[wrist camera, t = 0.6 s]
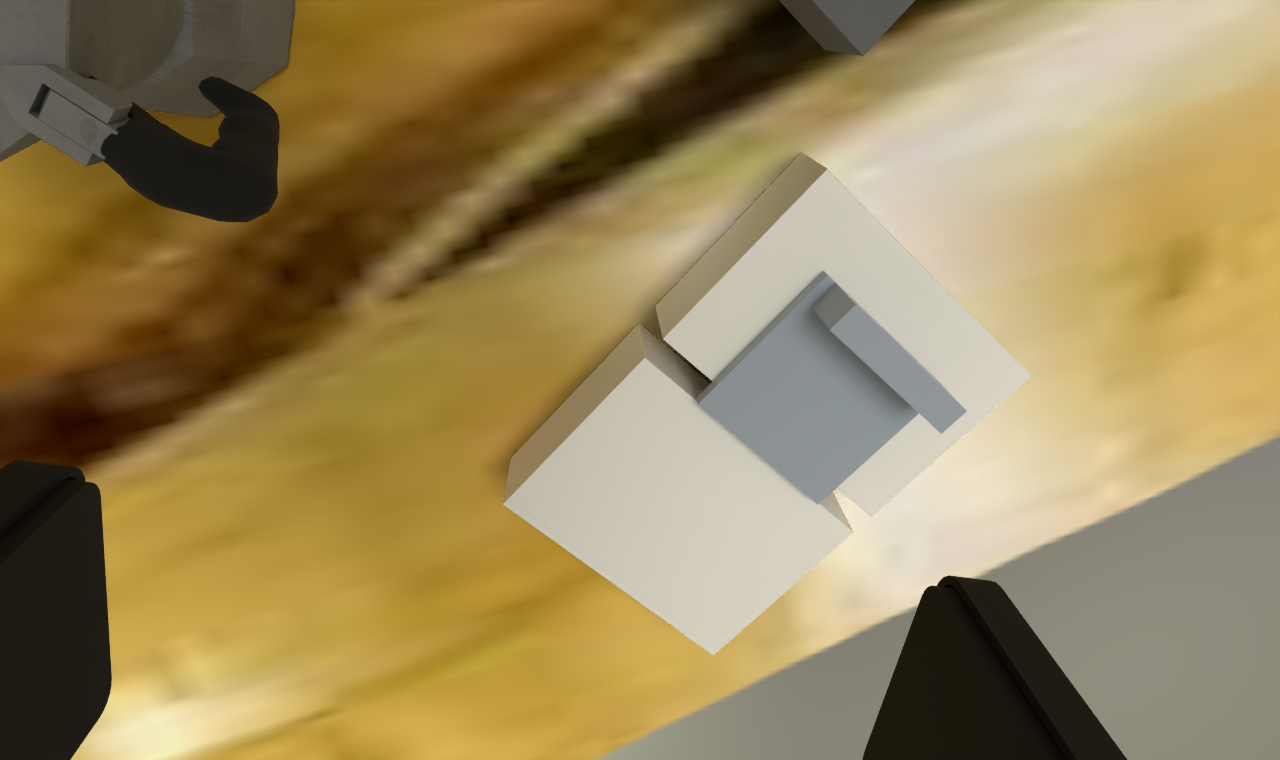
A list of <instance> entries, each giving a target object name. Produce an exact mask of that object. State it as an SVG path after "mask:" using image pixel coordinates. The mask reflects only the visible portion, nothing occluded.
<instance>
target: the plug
mask: <svg viewBox="0 0 1280 760" xmlns="http://www.w3.org/2000/svg"><path fill="white" fill-rule="evenodd" d="M779 1H780V2H781V3H782V4H783V6H784V7H785V8H786V9H787V10H788V11H789V12H790V13H791V14H792V15H793V16H794V17H795V18H796V20H797V21H798V22H799V23H800V24H801V25H802V26H803V27H804V28H805V29H806V30H807V31H808V32H809V34H810V35H811V36H812V37H813V38H814V39H815V40H816V41H817V42H818V43H819V44H820V45H821V46H822V48H823V49H824V50H829V51H835V52H842V53H848V54H855V55H861V56H863V55H864V54H865V53H866V52H867V51H868V50H869V49H870V48H871V47H872V46H873V45H874V44H875V42H876V41H877V40H878V39H879V38H880V37H881V36H882V35H883V34H884V33H885V32H886V31H887V30H888V29H889V28H890V27H891V25H892V24H893V23H894V22H895V21H896V20H897V19H898V18H899V17H900V16H901V15H902V14H903V13H904V12H905V11H906V9H907V8H908V7H909V6H910V5H911V4H912V3H913V2H914V1H915V0H779Z"/></svg>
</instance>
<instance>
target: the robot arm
mask: <svg viewBox="0 0 1280 760" xmlns="http://www.w3.org/2000/svg"><path fill="white" fill-rule="evenodd" d="M111 680H112V676H111V659H110V643H109V626H108V609H107V592H106V576H105V559H104V542H103V525H102V509H101V495H100V490H99V488H98V486H97V485H96V484H94V483H91V482H85V477H84V475H83V473H82V471H81V470H80V469H78V468H77V467H73V466H65V465H57V464H49V463H41V462H33V461H25V460H15V461H13V462H11V463H9V464H7V465H6V466H4V467H3V468H2V469H1V470H0V760H70V759H71V758H72V756H73V755H74V754H75V752H76V751H77V749H78V748H79V746H80V745H81V744H82V742H83V741H84V739H85V738H86V736H87V735H88V733H89V732H90V731H91V729H92V728H93V726H94V725H95V723H96V722H97V721H98V719H99V718H100V716H101V714H102V712H103V711H104V708H105V706H106V704H107V701H108V698H109V694H110V690H111ZM863 760H1127V759H1126V757H1125V756H1124V755H1123V754H1122V752H1121V750H1120V749H1119V748H1118V746H1117V745H1116V744H1115V742H1114V741H1113V740H1112V738H1111V737H1110V736H1109V734H1108V733H1107V731H1106V730H1105V729H1104V727H1103V726H1102V724H1100V722H1099V720H1098V719H1097V718H1096V716H1095V715H1094V714H1093V712H1092V711H1091V709H1090V708H1089V707H1088V705H1087V704H1086V703H1085V701H1084V700H1083V698H1082V697H1081V696H1080V694H1079V693H1078V692H1077V691H1076V689H1075V688H1074V686H1073V685H1072V684H1071V682H1070V681H1069V679H1068V678H1067V677H1066V676H1065V674H1064V672H1063V671H1062V670H1061V668H1060V667H1059V666H1058V664H1057V663H1056V662H1055V660H1054V659H1053V658H1052V656H1051V655H1050V653H1049V652H1048V651H1047V649H1046V648H1045V646H1044V645H1043V644H1042V642H1041V641H1040V640H1039V638H1038V637H1037V636H1036V634H1035V633H1034V631H1033V630H1032V629H1031V627H1030V626H1029V625H1028V623H1027V622H1026V620H1025V619H1024V618H1023V616H1022V615H1021V614H1020V612H1019V611H1018V610H1017V608H1016V607H1015V605H1014V604H1013V603H1012V601H1011V600H1010V599H1009V598H1008V596H1007V595H1006V593H1005V592H1004V590H1003V589H1002V588H1001V587H1000V586H999V585H998V584H997V583H996V582H992V581H988V580H980V579H972V578H964V577H956V576H946V577H943V578H942V579H941V581H940V582H939V583H938V585H937V586H930V587H928V588H927V589H926V590H925V591H924V593H923V595H922V597H921V600H920V603H919V605H918V608H917V611H916V614H915V616H914V619H913V622H912V624H911V627H910V630H909V632H908V635H907V638H906V641H905V643H904V646H903V649H902V651H901V654H900V657H899V660H898V663H897V665H896V668H895V670H894V673H893V676H892V679H891V681H890V684H889V687H888V689H887V692H886V695H885V697H884V700H883V703H882V706H881V708H880V711H879V714H878V717H877V719H876V722H875V725H874V727H873V730H872V733H871V735H870V738H869V741H868V744H867V746H866V749H865V752H864V756H863Z"/></svg>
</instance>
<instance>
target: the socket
mask: <svg viewBox="0 0 1280 760" xmlns="http://www.w3.org/2000/svg"><path fill="white" fill-rule="evenodd" d="M823 271H825V272H826V273H827V274H828V275H829V276H830V277H831V278H832V279H833V280H834V281H835V282H836V283H837V284H838V285H839V286H840V287H841V288H842V289H843V290H844V291H845V292H846V293H847V294H848V295H850V296H851V297H852V298H853V299H854V300H855V301H856V302H857V303H858V304H859V305H860V306H861V307H862V308H863V309H864V310H865V311H866V312H867V313H868V314H869V315H870V316H871V317H872V318H873V319H875V320H876V321H877V322H878V323H879V324H880V325H881V326H882V327H883V328H884V329H885V330H886V331H887V332H888V333H889V334H890V335H891V336H892V337H893V338H894V339H895V340H896V341H897V342H898V343H899V344H901V345H902V346H903V347H904V348H905V349H906V350H907V351H908V352H909V353H910V354H911V355H912V356H913V357H914V358H915V359H916V360H917V361H918V362H919V363H920V364H921V365H922V366H923V367H924V368H926V369H927V370H928V371H929V372H930V373H931V374H932V375H933V376H934V377H935V378H936V379H937V380H938V381H939V382H940V383H941V384H942V385H943V386H944V387H945V388H946V390H947V391H948V392H949V393H950V394H951V395H952V396H953V397H954V398H955V399H956V400H957V401H958V402H959V403H960V404H961V405H962V406H963V408H964V409H965V410H966V411H967V412H966V413H965V414H963V415H962V416H961V417H960V418H959V419H958V420H957V421H956V422H954V423H953V424H952V425H951V426H950V427H949V428H948V429H947V430H945V431H944V432H943V433H942V434H941V433H940V432H939V431H937V430H936V429H935V428H934V427H933V426H932V425H931V424H930V423H929V422H928V421H927V420H926V419H925V418H924V417H922V416H921V415H920V414H918V415H917V416H916V417H915V418H913V419H912V420H911V421H910V422H909V423H908V424H907V425H906V426H905V427H903V428H902V429H901V430H900V431H899V432H898V433H897V434H896V435H895V436H893V437H892V438H891V439H890V440H889V441H888V442H887V443H886V444H885V445H883V446H882V447H881V448H880V449H879V450H878V451H877V452H876V453H875V454H874V455H872V456H871V457H870V458H869V459H868V460H867V461H866V462H865V463H864V464H862V465H861V466H860V467H859V468H858V469H857V470H856V471H855V472H854V473H852V474H851V475H850V476H849V477H848V478H847V479H846V480H845V481H844V482H842V483H841V484H840V485H839V486H838V487H837V488H838V489H839V490H840V491H841V492H843V493H844V494H845V495H846V496H847V497H849V498H850V499H851V500H852V501H853V502H854V503H856V504H857V505H858V506H859V507H860V508H861V509H863V510H864V511H865V512H866V513H867V514H868V515H870V516H873V515H874V514H875V513H876V512H877V511H878V510H879V509H881V508H882V507H883V506H884V505H885V504H886V503H887V502H889V501H890V500H891V499H892V498H893V497H894V496H895V495H897V494H898V493H899V492H900V491H901V490H902V489H903V488H904V487H906V486H907V485H908V484H909V483H910V482H911V481H912V480H914V479H915V478H916V477H917V476H918V475H919V474H920V473H922V472H923V471H924V470H925V469H926V468H927V467H928V466H930V465H931V464H932V463H933V462H934V461H935V460H936V459H938V458H939V457H940V456H941V455H942V454H943V453H944V452H945V451H947V450H948V449H949V448H950V447H951V446H952V445H953V444H955V443H956V442H957V441H958V440H959V439H960V438H961V437H963V436H964V435H965V434H966V433H967V432H968V431H969V430H971V429H972V428H973V427H974V426H975V425H976V424H977V423H978V422H980V421H981V420H982V419H983V418H984V417H985V416H986V415H988V414H989V413H990V412H991V411H992V410H993V409H994V408H996V407H997V406H998V405H999V404H1000V403H1001V402H1002V401H1004V400H1005V399H1006V398H1007V397H1008V396H1009V395H1010V394H1012V393H1013V392H1014V391H1015V390H1016V389H1017V388H1018V387H1019V386H1021V385H1022V384H1023V383H1024V382H1025V381H1026V380H1027V379H1029V378H1030V377H1031V375H1030V374H1029V373H1028V372H1027V371H1026V370H1025V369H1024V368H1023V367H1022V366H1021V365H1020V364H1019V363H1018V362H1017V361H1016V360H1015V359H1014V358H1013V357H1012V356H1011V355H1010V354H1009V353H1008V352H1007V351H1006V350H1005V349H1004V348H1003V347H1002V346H1001V345H1000V344H999V343H998V342H997V341H996V340H995V339H994V338H993V337H992V336H991V335H990V334H989V333H988V332H987V331H986V330H985V328H984V327H983V326H982V325H981V324H980V323H979V322H978V321H977V320H976V319H975V318H974V317H973V316H972V315H971V314H970V313H969V312H968V311H967V310H966V309H965V308H964V307H963V306H962V305H961V304H960V303H959V302H958V301H957V300H956V299H955V298H954V297H953V296H952V295H951V294H950V293H949V292H948V291H947V290H946V289H945V288H944V287H943V286H942V285H941V284H940V283H939V282H938V281H937V280H936V279H935V278H934V277H933V276H932V275H931V274H930V273H929V272H928V271H927V270H926V269H925V268H924V267H923V266H922V265H921V263H920V262H919V261H918V260H917V259H916V258H915V257H914V256H913V255H912V254H911V253H910V252H909V251H908V250H907V249H906V248H905V247H904V246H903V245H902V244H901V243H900V242H899V241H898V240H897V239H896V238H895V237H894V236H893V235H892V234H891V233H890V232H889V231H888V230H887V229H886V228H885V227H884V226H883V225H882V224H881V223H880V222H879V221H878V220H877V219H876V218H875V217H874V216H873V215H872V214H871V213H870V212H869V211H868V210H867V209H866V208H865V207H864V206H863V205H862V204H861V203H860V202H859V201H858V200H857V198H856V197H855V196H854V195H853V194H852V193H851V192H850V191H849V190H848V189H847V188H846V187H845V186H844V185H843V184H842V183H841V182H840V181H839V180H838V179H837V178H836V177H835V176H834V175H833V174H832V173H831V172H830V171H829V170H828V169H827V168H825V167H824V166H822V165H821V164H819V163H817V162H816V161H814V160H813V159H811V158H810V157H808V156H807V155H805V154H803V153H802V152H801V153H800V154H799V155H798V156H797V158H796V159H795V160H794V161H793V162H792V163H791V164H790V165H789V166H788V167H787V168H786V169H785V170H784V171H783V172H782V173H781V174H780V175H779V176H778V178H777V179H776V180H775V181H774V182H773V183H772V184H771V185H770V186H769V187H768V188H767V189H766V190H765V191H764V192H763V193H762V194H761V195H760V196H759V198H758V199H757V200H756V201H755V202H754V203H753V204H752V205H751V206H750V207H749V208H748V209H747V210H746V211H745V212H744V213H743V214H742V215H741V216H740V217H739V219H738V220H737V221H736V222H735V223H734V224H733V225H732V226H731V227H730V228H729V229H728V230H727V231H726V232H725V233H724V234H723V235H722V236H721V237H720V239H719V240H718V241H717V242H716V243H715V244H714V245H713V246H712V247H711V248H710V249H709V250H708V251H707V252H706V253H705V254H704V255H703V256H702V257H701V258H700V260H699V261H698V262H697V263H696V264H695V265H694V266H693V267H692V268H691V269H690V270H689V271H688V272H687V273H686V274H685V275H684V276H683V277H682V278H681V280H680V281H679V282H678V283H677V284H676V285H675V286H674V287H673V288H672V289H671V290H670V291H669V292H668V293H667V294H666V295H665V296H664V297H663V298H662V299H661V301H660V302H659V303H658V304H657V305H656V306H655V307H656V312H657V316H658V320H659V325H660V329H661V333H662V338H663V340H665V341H666V342H667V343H668V344H669V345H670V346H672V347H673V348H674V349H675V350H676V351H677V352H679V353H680V354H681V355H682V356H683V357H684V358H686V359H687V360H688V361H689V362H690V363H691V364H693V365H694V366H695V367H696V368H697V369H698V370H700V371H701V372H702V373H703V374H704V375H706V376H707V377H708V378H709V379H710V380H711V381H714V380H715V379H716V378H717V377H718V376H719V375H720V374H721V373H722V372H723V371H724V370H725V369H726V368H727V367H728V366H729V365H730V364H731V363H732V362H733V361H734V360H735V359H736V358H737V357H738V356H739V355H740V354H741V353H742V352H743V351H744V350H745V349H746V348H747V347H748V346H749V345H750V344H751V343H752V342H753V341H754V340H755V339H756V338H757V337H758V336H759V335H760V334H761V333H762V332H763V331H764V330H765V329H766V328H767V327H768V326H769V325H770V324H771V323H772V322H773V321H774V320H775V319H776V318H777V317H778V316H779V315H780V314H781V313H782V312H783V311H784V310H785V309H786V308H787V307H788V306H789V305H790V304H791V303H792V302H793V301H794V300H795V299H796V298H797V297H798V296H799V295H800V294H801V293H802V292H803V291H804V290H805V289H806V288H807V287H808V286H809V285H810V284H811V283H812V282H813V281H814V280H815V279H816V278H817V277H818V276H819V275H820V274H821V273H822V272H823ZM709 385H710V383H709V382H708V381H707V380H706V379H704V378H703V377H702V376H701V375H700V374H699V373H697V372H696V371H695V370H694V369H693V368H691V367H690V366H689V365H688V364H687V363H686V362H684V361H683V360H682V359H681V358H680V357H679V356H677V355H676V354H675V353H674V352H673V351H671V350H670V349H669V348H668V347H667V346H666V345H664V344H663V343H662V342H661V341H660V340H659V339H657V338H656V337H655V336H654V335H653V334H652V333H650V332H649V331H648V330H647V329H646V328H644V327H643V326H642V325H641V324H640V323H639V324H638V325H637V326H636V327H635V328H634V329H633V330H632V331H631V332H630V333H629V334H628V335H627V336H626V337H625V338H624V339H623V340H622V342H621V343H620V344H619V345H618V346H617V347H616V348H615V349H614V350H613V351H612V352H611V353H610V354H609V355H608V356H607V357H606V358H605V359H604V360H603V362H602V363H601V364H600V365H599V366H598V367H597V368H596V369H595V370H594V371H593V372H592V373H591V374H590V375H589V376H588V377H587V378H586V379H585V380H584V382H583V383H582V384H581V385H580V386H579V387H578V388H577V389H576V390H575V391H574V392H573V393H572V394H571V395H570V396H569V397H568V398H567V399H566V400H565V401H564V403H563V404H562V405H561V406H560V407H559V408H558V409H557V410H556V411H555V412H554V413H553V414H552V415H551V416H550V417H549V418H548V419H547V420H546V421H545V423H544V424H543V425H542V426H541V427H540V428H539V429H538V430H537V431H536V432H535V433H534V434H533V435H532V436H531V437H530V438H529V439H528V440H527V441H526V442H525V444H524V445H523V446H522V447H521V448H520V449H519V450H518V451H517V452H516V453H515V454H514V455H513V456H512V457H511V461H510V467H509V472H508V478H507V484H506V490H505V495H504V501H503V505H504V506H506V507H507V508H509V509H510V510H511V511H513V512H514V513H516V514H517V515H518V516H520V517H521V518H523V519H524V520H525V521H527V522H528V523H530V524H531V525H532V526H534V527H535V528H536V529H538V530H539V531H541V532H542V533H543V534H545V535H546V536H548V537H549V538H550V539H552V540H553V541H555V542H556V543H557V544H559V545H560V546H562V547H563V548H564V549H566V550H567V551H569V552H570V553H571V554H573V555H574V556H575V557H577V558H578V559H580V560H581V561H582V562H584V563H585V564H587V565H588V566H589V567H591V568H592V569H594V570H595V571H596V572H598V573H599V574H601V575H602V576H603V577H605V578H606V579H607V580H609V581H610V582H612V583H613V584H614V585H616V586H617V587H619V588H620V589H621V590H623V591H624V592H626V593H627V594H628V595H630V596H631V597H633V598H634V599H635V600H637V601H638V602H640V603H641V604H642V605H644V606H645V607H646V608H648V609H649V610H651V611H652V612H653V613H655V614H656V615H658V616H659V617H660V618H662V619H663V620H665V621H666V622H667V623H669V624H670V625H672V626H673V627H674V628H676V629H677V630H678V631H680V632H681V633H683V634H684V635H685V636H687V637H688V638H690V639H691V640H692V641H694V642H695V643H697V644H698V645H699V646H701V647H702V648H704V649H705V650H706V651H708V652H709V653H711V654H712V655H714V654H715V653H717V652H718V651H719V650H720V649H721V648H722V647H723V646H725V645H726V644H727V643H728V642H729V641H730V640H731V639H733V638H734V637H735V636H736V635H737V634H738V633H739V632H741V631H742V630H743V629H744V628H745V627H746V626H747V625H749V624H750V623H751V622H752V621H753V620H754V619H755V618H756V617H758V616H759V615H760V614H761V613H762V612H763V611H764V610H766V609H767V608H768V607H769V606H770V605H771V604H772V603H774V602H775V601H776V600H777V599H778V598H779V597H780V596H782V595H783V594H784V593H785V592H786V591H787V590H788V589H789V588H791V587H792V586H793V585H794V584H795V583H796V582H797V581H799V580H800V579H801V578H802V577H803V576H804V575H805V574H807V573H808V572H809V571H810V570H811V569H812V568H813V567H815V566H816V565H817V564H818V563H819V562H820V561H821V560H823V559H824V558H825V557H826V556H827V555H828V554H829V553H830V552H832V551H833V550H834V549H835V548H836V547H837V546H838V545H840V544H841V543H842V542H843V541H844V540H845V539H846V538H848V537H849V536H850V535H851V534H852V533H853V530H852V528H851V526H850V524H849V522H848V520H847V519H846V517H845V515H844V513H843V511H842V509H841V507H840V505H839V503H838V501H837V499H836V497H835V495H834V493H833V492H831V493H830V494H829V495H828V496H827V497H826V498H825V499H824V500H823V501H821V502H820V503H819V504H816V503H815V502H814V501H813V500H812V499H810V498H809V497H808V496H807V495H806V494H804V493H803V492H802V491H801V490H800V489H798V488H797V487H796V486H795V485H794V484H792V483H791V482H790V481H789V480H788V479H786V478H785V477H784V476H783V475H782V474H781V473H779V472H778V471H777V470H776V469H775V468H773V467H772V466H771V465H770V464H769V463H767V462H766V461H765V460H764V459H763V458H761V457H760V456H759V455H758V454H757V453H755V452H754V451H753V450H752V449H751V448H749V447H748V446H747V445H746V444H745V443H743V442H742V441H741V440H740V439H739V438H737V437H736V436H735V435H734V434H733V433H731V432H730V431H729V430H728V429H727V428H725V427H724V426H723V425H722V424H721V423H719V422H718V421H717V420H716V419H715V418H714V417H712V416H711V415H710V414H709V413H708V412H706V411H705V410H704V409H703V408H702V407H700V406H699V405H698V403H697V400H696V397H697V396H698V395H699V394H700V393H702V392H703V391H704V390H705V389H706V388H707V387H708V386H709Z"/></svg>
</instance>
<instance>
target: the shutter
mask: <svg viewBox="0 0 1280 760" xmlns="http://www.w3.org/2000/svg"><path fill="white" fill-rule="evenodd" d="M696 400H697V403H698V405H699V406H700V407H702V408H703V409H704V410H705V411H706V412H708V413H709V414H710V415H711V416H712V417H714V418H715V419H716V420H717V421H718V422H719V423H721V424H722V425H723V426H724V427H725V428H727V429H728V430H729V431H730V432H731V433H733V434H734V435H735V436H736V437H737V438H739V439H740V440H741V441H742V442H743V443H745V444H746V445H747V446H748V447H749V448H751V449H752V450H753V451H754V452H755V453H757V454H758V455H759V456H760V457H761V458H763V459H764V460H765V461H766V462H767V463H769V464H770V465H771V466H772V467H773V468H775V469H776V470H777V471H778V472H779V473H781V474H782V475H783V476H784V477H785V478H786V479H788V480H789V481H790V482H791V483H792V484H794V485H795V486H796V487H797V488H798V489H800V490H801V491H802V492H803V493H804V494H806V495H807V496H808V497H809V498H810V499H812V500H813V501H814V502H815V503H816V504H819V503H820V502H821V501H823V500H824V499H825V498H826V497H827V496H828V495H829V494H830V493H831V492H833V491H834V490H835V489H836V488H837V487H838V486H839V485H840V484H841V483H842V482H844V481H845V480H846V479H847V478H848V477H849V476H850V475H851V474H852V473H854V472H855V471H856V470H857V469H858V468H859V467H860V466H861V465H862V464H864V463H865V462H866V461H867V460H868V459H869V458H870V457H871V456H872V455H874V454H875V453H876V452H877V451H878V450H879V449H880V448H881V447H882V446H883V445H885V444H886V443H887V442H888V441H889V440H890V439H891V438H892V437H893V436H895V435H896V434H897V433H898V432H899V431H900V430H901V429H902V428H903V427H905V426H906V425H907V424H908V423H909V422H910V421H911V420H912V419H913V418H915V417H916V416H917V415H918V414H920V415H921V416H922V417H924V418H925V419H926V420H927V421H928V422H929V423H930V424H931V425H932V426H933V427H934V428H935V429H936V430H937V431H939V432H940V433H941V434H942V433H943V432H944V431H945V430H947V429H948V428H949V427H950V426H951V425H952V424H953V423H954V422H956V421H957V420H958V419H959V418H960V417H961V416H962V415H963V414H965V413H966V412H967V411H966V410H965V409H964V408H963V406H962V405H961V404H960V403H959V402H958V401H957V400H956V399H955V398H954V397H953V396H952V395H951V394H950V393H949V392H948V391H947V390H946V388H945V387H944V386H943V385H942V384H941V383H940V382H939V381H938V380H937V379H936V378H935V377H934V376H933V375H932V374H931V373H930V372H929V371H928V370H927V369H926V368H924V367H923V366H922V365H921V364H920V363H919V362H918V361H917V360H916V359H915V358H914V357H913V356H912V355H911V354H910V353H909V352H908V351H907V350H906V349H905V348H904V347H903V346H902V345H901V344H899V343H898V342H897V341H896V340H895V339H894V338H893V337H892V336H891V335H890V334H889V333H888V332H887V331H886V330H885V329H884V328H883V327H882V326H881V325H880V324H879V323H878V322H877V321H876V320H875V319H873V318H872V317H871V316H870V315H869V314H868V313H867V312H866V311H865V310H864V309H863V308H862V307H861V306H860V305H859V304H858V303H857V302H856V301H855V300H854V299H853V298H852V297H851V296H850V295H848V294H847V293H846V292H845V291H844V290H843V289H842V288H841V287H840V286H839V285H838V284H837V283H836V282H835V281H834V280H833V279H832V278H831V277H830V276H829V275H828V274H827V273H826V272H825V271H823V272H822V273H821V274H820V275H819V276H818V277H817V278H816V279H815V280H814V281H813V282H812V283H811V284H810V285H809V286H808V287H807V288H806V289H805V290H804V291H803V292H802V293H801V294H800V295H799V296H798V297H797V298H796V299H795V300H794V301H793V302H792V303H791V304H790V305H789V306H788V307H787V308H786V309H785V310H784V311H783V312H782V313H781V314H780V315H779V316H778V317H777V318H776V319H775V320H774V321H773V322H772V323H771V324H770V325H769V326H768V327H767V328H766V329H765V330H764V331H763V332H762V333H761V334H760V335H759V336H758V337H757V338H756V339H755V340H754V341H753V342H752V343H751V344H750V345H749V346H748V347H747V348H746V349H745V350H744V351H743V352H742V353H741V354H740V355H739V356H738V357H737V358H736V359H735V360H734V361H733V362H732V363H731V364H730V365H729V366H728V367H727V368H726V369H725V370H724V371H723V372H722V373H721V374H720V375H719V376H718V377H717V378H716V379H715V380H714V381H713V382H712V383H711V384H710V385H709V386H708V387H707V388H706V389H705V390H704V391H703V392H702V393H700V394H699V395H698V396H697V397H696Z"/></svg>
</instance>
